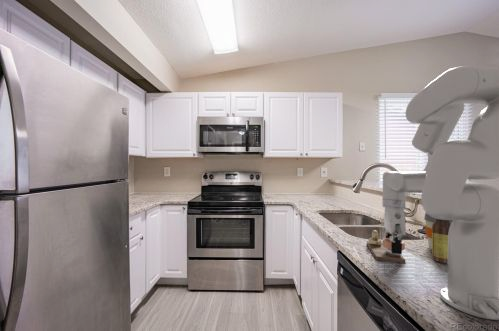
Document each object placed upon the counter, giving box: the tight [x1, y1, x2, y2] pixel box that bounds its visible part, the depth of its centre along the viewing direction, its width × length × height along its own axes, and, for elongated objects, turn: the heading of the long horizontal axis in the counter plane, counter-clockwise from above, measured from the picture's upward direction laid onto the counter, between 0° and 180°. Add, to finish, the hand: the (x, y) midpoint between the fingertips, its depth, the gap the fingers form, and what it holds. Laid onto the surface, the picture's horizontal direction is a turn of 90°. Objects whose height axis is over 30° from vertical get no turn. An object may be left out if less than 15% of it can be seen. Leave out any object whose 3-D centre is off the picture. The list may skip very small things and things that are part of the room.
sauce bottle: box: [431, 219, 450, 264], centre depth 87 cm, size 7×6×20 cm
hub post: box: [368, 229, 382, 246], centre depth 100 cm, size 5×5×6 cm
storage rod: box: [386, 236, 402, 258], centre depth 88 cm, size 5×5×7 cm
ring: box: [381, 237, 406, 251], centre depth 88 cm, size 7×7×2 cm
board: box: [366, 240, 406, 264], centre depth 94 cm, size 18×10×2 cm, turn 163°
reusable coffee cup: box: [423, 212, 453, 250], centre depth 99 cm, size 13×13×15 cm
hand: (393, 249), depth 88 cm, fingers closed on ring, 7 cm apart
